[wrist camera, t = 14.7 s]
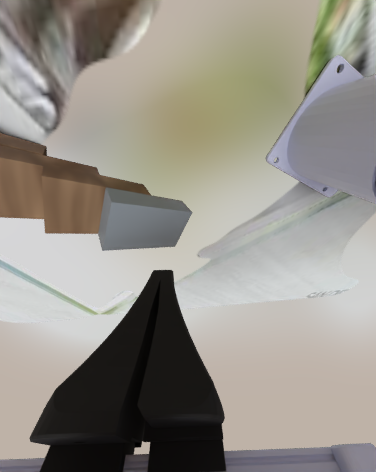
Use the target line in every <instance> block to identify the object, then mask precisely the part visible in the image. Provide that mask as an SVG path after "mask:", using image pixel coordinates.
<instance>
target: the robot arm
mask: <svg viewBox="0 0 376 472" xmlns="http://www.w3.org/2000/svg"><path fill="white" fill-rule="evenodd" d="M338 66H340V70H339V72H338V73H337V68H338ZM276 157H277V161H276V162H274V159H275V158H276ZM266 161H267V162H268V163H269V164H271V165H273V166H275V167H276V168H278V169H280V170H281V171H283V172H285V173H287V174H288V175H290V176H292V177H294V178H295V179H297V180H299V181H300V182H302V183H304V184H305V185H307V186H309V187H311V188H312V189H314V190H316V191H317V192H319V193H321V194H323V195H324V196H326V197H331V196H333V195H334V194H335V193H336V192H337V191H338V190H340V191H342V192H345V193H348V194H350V195H353V196H356V197H359V198H361V199H364V200H367V201H369V202H372V203H375V204H376V74H375V75H372V76H369V77H365V78H364V77H363V76H362V75H361V74H360V73H359V72H358V71H357V70H356V69H355V68H354V67H353V66H352V65H351V64H349V63H348V62H347V61H346V60H345V59H344V58H343V57H342V56H340V55H337V56H335V57H333V58H332V59H330V61H329V62H328V63H327V65H326V66H325V68H324V69H323V71H322V72H321V74H320V75H319V77H318V78H317V80H316V81H315V83H314V84H313V86H312V87H311V89H310V91H309V92H308V94H307V95H306V97H305V98H304V100H303V101H302V103H301V104H300V106H299V107H298V109H297V110H296V112H295V114H294V115H293V116H292V118H291V119H290V121H289V122H288V124H287V126H286V127H285V129H284V130H283V132H282V133H281V135H280V136H279V138H278V139H277V141H276V142H275V144H274V145H273V147H272V148H271V150H270V151H269V153H268V154H267V156H266ZM324 187H325V189H324V190H323V188H324ZM224 418H225V417H224V411H223V408H222V404H221V402H220V399H219V396H218V394H217V391H216V389H215V386H214V383H213V381H212V379H211V377H210V376H209V373H208V372H207V370H206V368H205V366H204V364H203V362H202V360H201V358H200V356H199V354H198V352H197V350H196V347H195V345H194V343H193V341H192V339H191V337H190V334H189V332H188V329H187V327H186V324H185V321H184V319H183V316H182V313H181V310H180V307H179V304H178V300H177V297H176V293H175V288H174V277H173V271H172V270H154V271H153V272H152V274H151V276H150V278H149V280H148V282H147V284H146V286H145V287H144V289H143V291H142V292H141V294H140V295H139V297H138V298H137V300H136V301H135V303H134V304H133V306H132V307H131V309H130V310H129V311H128V313H127V314H126V316H125V317H124V318H123V319H122V321H121V322H120V323H119V324H118V326H117V327H116V328H115V329H114V330H113V331H112V333H111V334H110V335H109V336H108V337H107V338H106V340H105V341H104V342H103V343H102V344H101V345H100V346H99V347H98V348H97V349H96V350H95V351H94V352H93V353H92V354H91V355H90V357H89V358H88V359H87V360H86V361H85V362H84V363H83V364H82V365H81V366H80V367H79V368H78V369H77V370H75V371H74V372H73V373H72V374H71V375H70V376H69V377H68V378H67V379H66V380H65V381H64V382H63V383H62V384H61V385H60V386H58V388H56V390H55V391H54V393H53V395H52V397H51V398H50V400H49V401H48V403H47V405H46V407H45V408H44V410H43V413H42V414H41V417H40V418H39V420H38V422H37V424H36V426H35V428H34V430H33V432H32V434H31V436H30V441H31V442H34V443H39V444H45V445H51V446H50V448H49V451H48V453H47V455H46V457H45V458H35V459H9V460H0V472H376V448H375V446H374V445H373V444H371V443H367V444H366V443H365V444H342V445H333V446H331V447H320V448H294V449H269V450H243V451H224V448H223V432H222V423H223V421H224ZM142 441H143V442H150V451H149V454H142V455H141V454H140V455H134V448H135V447H141V444H142Z"/></svg>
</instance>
